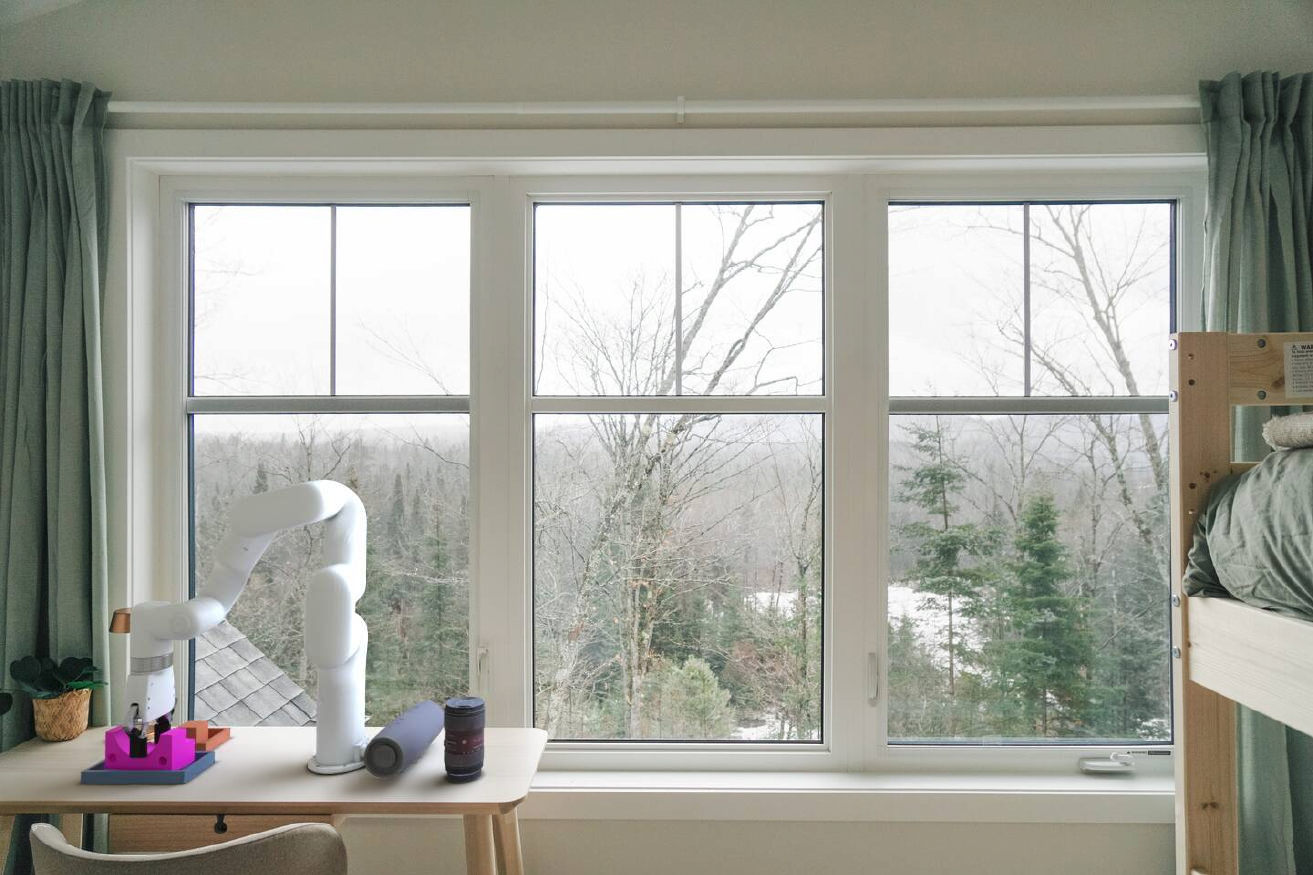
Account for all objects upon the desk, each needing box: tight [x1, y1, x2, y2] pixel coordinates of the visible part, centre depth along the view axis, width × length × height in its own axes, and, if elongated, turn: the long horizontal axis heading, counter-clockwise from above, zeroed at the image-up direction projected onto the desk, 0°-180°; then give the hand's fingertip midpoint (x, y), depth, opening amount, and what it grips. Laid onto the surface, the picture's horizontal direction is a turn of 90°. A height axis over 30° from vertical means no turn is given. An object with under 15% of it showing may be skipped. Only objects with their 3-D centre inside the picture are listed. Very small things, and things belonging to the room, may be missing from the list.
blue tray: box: [80, 750, 216, 785], centre depth 158 cm, size 21×11×2 cm, turn 90°
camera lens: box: [443, 696, 486, 784], centre depth 157 cm, size 8×8×15 cm
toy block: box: [104, 724, 195, 770], centre depth 158 cm, size 15×6×8 cm, turn 82°
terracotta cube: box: [175, 720, 209, 742], centre depth 173 cm, size 4×4×4 cm
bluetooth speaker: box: [364, 700, 444, 779], centre depth 164 cm, size 23×9×10 cm, turn 175°
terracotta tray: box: [195, 727, 231, 751], centre depth 173 cm, size 12×10×2 cm
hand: (150, 749), depth 158 cm, fingers closed on toy block, 6 cm apart
